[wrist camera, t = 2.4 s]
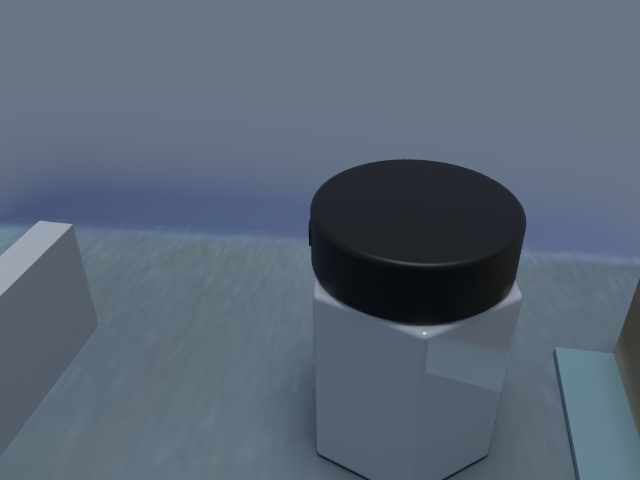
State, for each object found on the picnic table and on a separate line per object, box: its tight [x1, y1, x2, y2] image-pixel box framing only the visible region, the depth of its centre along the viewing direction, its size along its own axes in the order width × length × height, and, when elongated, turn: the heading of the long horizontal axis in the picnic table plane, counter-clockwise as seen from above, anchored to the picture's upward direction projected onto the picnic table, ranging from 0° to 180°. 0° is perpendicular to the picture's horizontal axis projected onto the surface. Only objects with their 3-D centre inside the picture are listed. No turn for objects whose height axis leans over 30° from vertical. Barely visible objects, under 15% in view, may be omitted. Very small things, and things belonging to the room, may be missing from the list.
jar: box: [309, 159, 526, 480], centre depth 26 cm, size 9×8×12 cm
